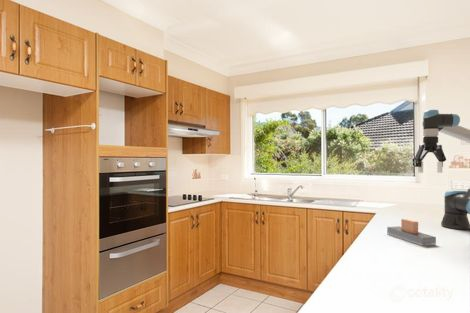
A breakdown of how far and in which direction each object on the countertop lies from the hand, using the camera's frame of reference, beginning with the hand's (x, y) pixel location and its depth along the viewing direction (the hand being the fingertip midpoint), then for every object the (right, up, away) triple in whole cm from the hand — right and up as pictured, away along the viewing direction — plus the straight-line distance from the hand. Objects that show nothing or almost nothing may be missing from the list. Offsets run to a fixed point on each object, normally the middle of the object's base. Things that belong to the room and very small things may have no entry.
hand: (430, 172), depth 180 cm
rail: (-22, -34, -18) cm, 44 cm away
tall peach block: (-22, -33, -18) cm, 44 cm away
